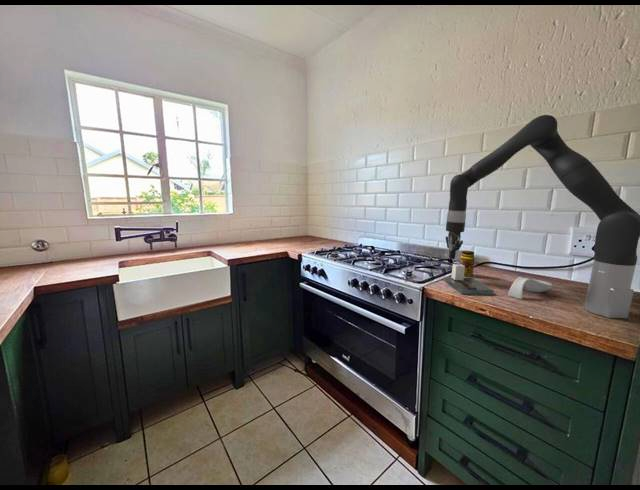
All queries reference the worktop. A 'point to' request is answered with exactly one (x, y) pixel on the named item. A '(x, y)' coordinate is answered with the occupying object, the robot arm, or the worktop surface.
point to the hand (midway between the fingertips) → (451, 258)
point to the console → (469, 286)
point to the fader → (458, 272)
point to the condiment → (467, 263)
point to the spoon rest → (527, 287)
